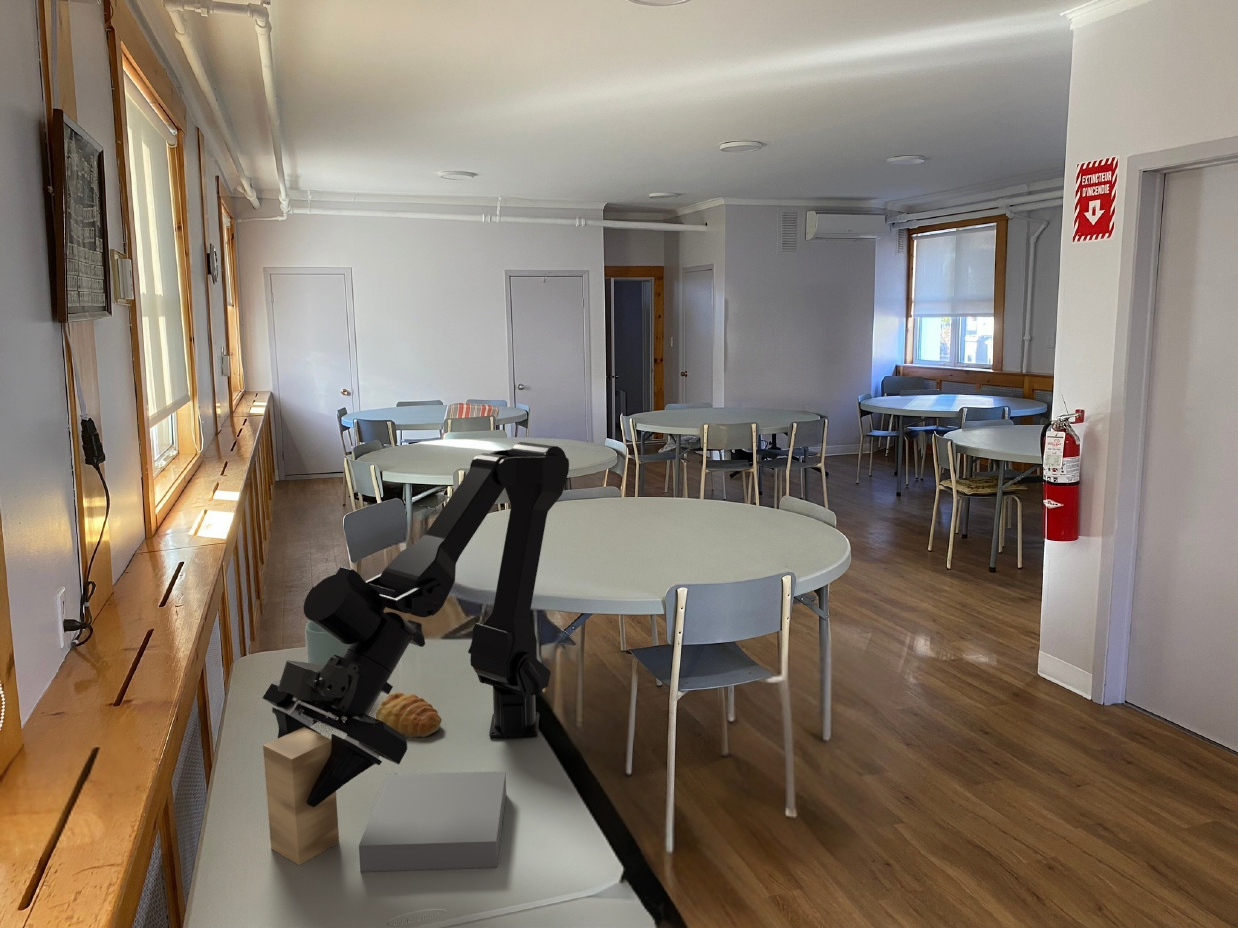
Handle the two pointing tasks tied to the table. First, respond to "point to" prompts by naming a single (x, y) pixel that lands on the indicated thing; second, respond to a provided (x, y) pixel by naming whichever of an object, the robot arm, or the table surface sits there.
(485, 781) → the plinth
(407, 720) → the pastry
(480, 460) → the robot arm
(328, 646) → the cup
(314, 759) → the oak block
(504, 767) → the table surface
